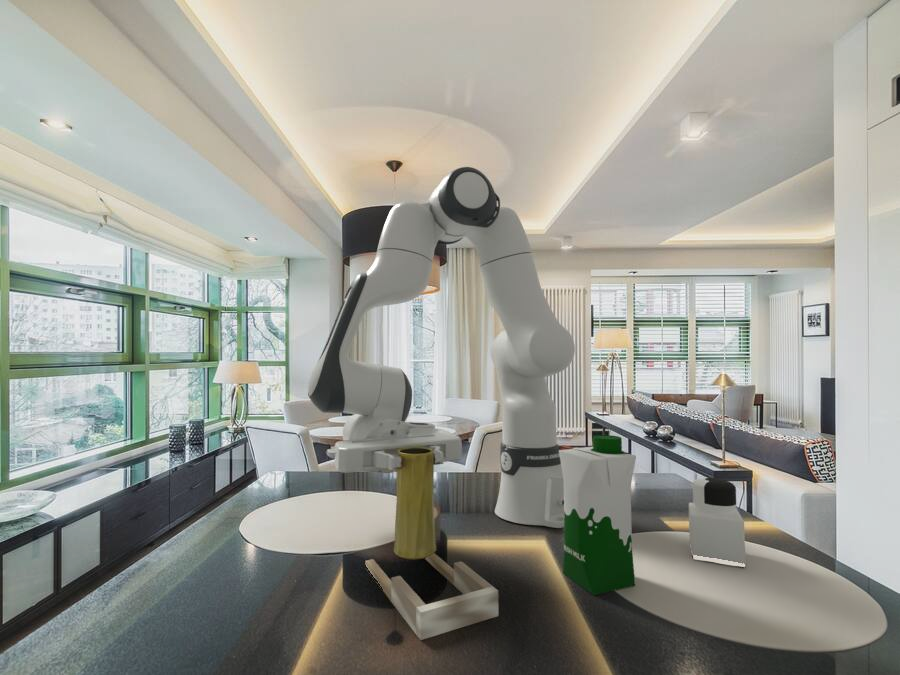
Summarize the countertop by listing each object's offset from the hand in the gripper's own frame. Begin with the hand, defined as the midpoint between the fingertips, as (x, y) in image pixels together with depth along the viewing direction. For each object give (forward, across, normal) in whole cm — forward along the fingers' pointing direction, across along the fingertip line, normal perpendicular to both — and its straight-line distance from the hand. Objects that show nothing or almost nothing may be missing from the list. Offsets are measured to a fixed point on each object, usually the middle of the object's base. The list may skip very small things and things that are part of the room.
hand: (418, 461), depth 64 cm
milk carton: (+11, +23, +17) cm, 31 cm away
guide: (+2, 0, +17) cm, 17 cm away
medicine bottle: (+14, +46, +17) cm, 51 cm away
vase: (-1, 0, +13) cm, 13 cm away
